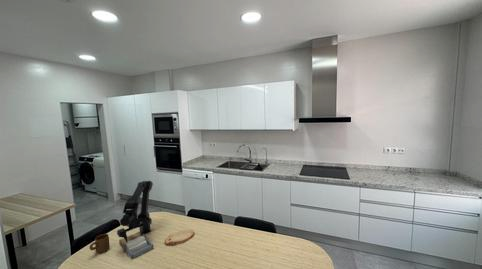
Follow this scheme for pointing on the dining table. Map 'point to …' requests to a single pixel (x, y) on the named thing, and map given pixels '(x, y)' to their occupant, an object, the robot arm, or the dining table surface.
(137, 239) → the tile
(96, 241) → the mug
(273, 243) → the dining table surface
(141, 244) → the tile
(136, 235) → the board
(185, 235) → the slice of bread
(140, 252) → the tray
